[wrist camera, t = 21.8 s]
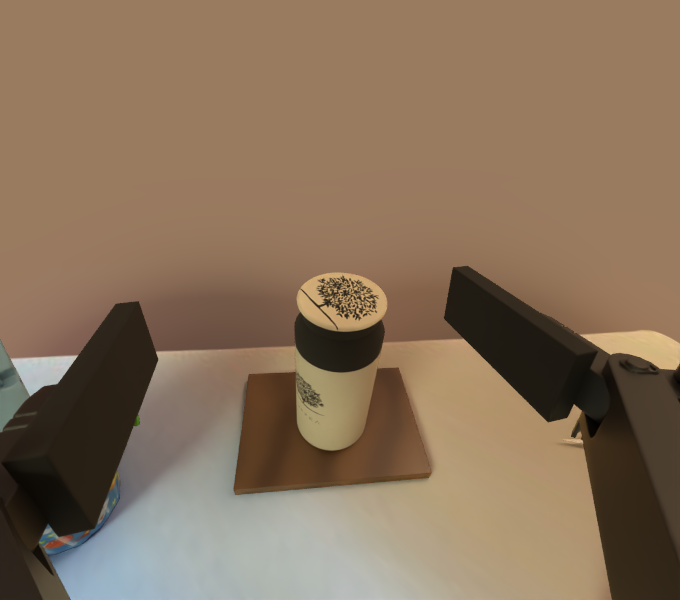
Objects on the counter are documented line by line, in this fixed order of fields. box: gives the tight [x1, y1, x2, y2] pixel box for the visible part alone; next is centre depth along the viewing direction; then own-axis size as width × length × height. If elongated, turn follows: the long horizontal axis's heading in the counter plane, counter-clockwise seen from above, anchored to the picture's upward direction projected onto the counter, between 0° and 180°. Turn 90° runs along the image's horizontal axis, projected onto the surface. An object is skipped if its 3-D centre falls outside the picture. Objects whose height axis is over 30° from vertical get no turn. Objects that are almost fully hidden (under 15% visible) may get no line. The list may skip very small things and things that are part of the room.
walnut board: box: [234, 368, 431, 495], centre depth 39 cm, size 20×14×1 cm
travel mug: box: [295, 273, 387, 450], centre depth 33 cm, size 8×8×18 cm
